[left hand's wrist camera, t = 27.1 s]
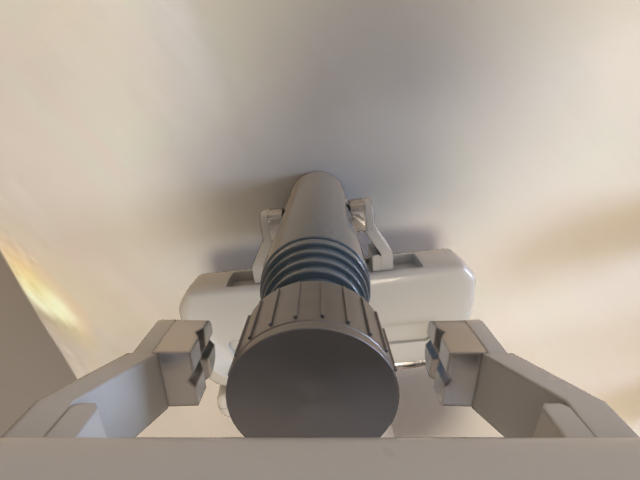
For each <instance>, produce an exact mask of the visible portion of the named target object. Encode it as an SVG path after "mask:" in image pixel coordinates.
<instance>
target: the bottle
mask: <svg viewBox="0 0 640 480" xmlns="http://www.w3.org/2000/svg"><path fill="white" fill-rule="evenodd" d="M300 281H301V282H303V281H325V282H330V283H335V284H338V285H341V286H345V287H346V288H348V289H350V290H352V291H354V292H355V293H357V294H358V295H360V296H361V297H362V296H363V297H364V299H365V300H366V301H367V302H368V303H369V301H370V295H371V285H370V275H369V272H368V269H367V265H366V262H365V259H364V256H363V252H362V249H361V246H360V243H359V239H358V236H357V233H356V230H355V226H354V223H353V220H352V216H351V213H350V210H349V207H348V203H347V200H346V197H345V194H344V190H343V188H342V185H341V184H340V182H339V181H338V180H337V179H336V178H335V177H333V176H332V175H330V174H328V173H325V172H319V171H317V172H310V173H307V174H305V175H303V176H302V177H301V178H299V179H298V180H297V182H296V183H295V185H294V186H293V189H292V191H291V194H290V197H289V200H288V202H287V205H286V208H285V210H284V213H283V216H282V219H281V221H280V224H279V227H278V230H277V232H276V235H275V238H274V240H273V243H272V246H271V249H270V251H269V254H268V257H267V260H266V262H265V265H264V268H263V271H262V274H261V280H260V299H261V300H263V299H264V298H265V297H266V296H268V295H269V294H270V293H272V292H273V291H275V290H276V289H278V288H281V287H284V286H286V285H289V284H293V283H297V282H300Z"/></svg>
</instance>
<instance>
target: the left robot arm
mask: <svg viewBox="0 0 640 480" xmlns="http://www.w3.org/2000/svg"><path fill="white" fill-rule="evenodd" d="M212 333H213V330H212V324H211V322H210V321H209V320H160V321H158V322H157V323H156V324H155V325H154V326H153V328H152V329H151V330H150V332H149V333H148V334H147V335H146V337H145V338H144V339H143V341H142V342H141V343H140V344H139V346H138V347H137V348H136V349H135V351H134V352H133V353H127V354H125V355H123V356H121V357H119V358H118V359H116V360H114V361H112V362H110V363H108V364H106V365H104V366H102V367H100V368H99V369H97V370H95V371H93V372H91V373H89V374H87V375H85V376H83V377H82V378H80V379H78V380H76V381H74V382H72V383H70V384H68V385H66V386H65V387H63V388H61V389H59V390H57V391H55V392H53V393H51V394H49V395H47V396H46V397H44V398H42V399H40V400H38V401H36V402H35V403H34V404H33V405H32V406H31V407H30V408H29V409H28V410H27V411H26V412H25V413H24V414H23V415H22V416H21V417H20V418H19V419H18V420H17V421H16V422H15V423H14V424H13V425H12V426H11V427H10V428H9V429H8V430H7V431H6V432H5V433H4V434H3V436H1V437H0V480H640V437H639V436H638V435H637V434H636V433H635V432H634V431H633V430H632V429H631V428H630V427H629V426H628V425H627V424H626V423H625V422H624V421H623V420H622V419H621V418H620V417H619V416H618V415H617V414H616V413H615V412H614V411H613V410H612V409H611V408H610V407H609V406H608V405H607V404H606V403H605V402H604V401H602V400H600V399H598V398H596V397H594V396H592V395H590V394H589V393H587V392H585V391H583V390H581V389H579V388H577V387H575V386H573V385H572V384H570V383H568V382H566V381H564V380H562V379H560V378H558V377H556V376H555V375H553V374H551V373H549V372H547V371H545V370H543V369H541V368H539V367H538V366H536V365H534V364H532V363H530V362H528V361H526V360H524V359H522V358H521V357H519V356H517V355H515V354H513V353H507V352H506V351H505V350H504V348H503V347H502V346H501V344H500V343H499V342H498V341H497V339H496V338H495V337H494V336H493V334H492V333H491V332H490V330H489V329H488V328H487V327H486V325H485V324H484V323H483V322H482V321H481V320H455V321H430V322H429V324H428V330H427V333H428V335H429V337H430V340H429V341H428V342H427V343H426V344H425V364H426V368H427V371H428V374H429V376H430V377H431V378H433V379H434V380H435V384H434V388H435V391H436V393H437V396H438V398H439V400H440V403H441V405H442V406H472V408H473V409H474V410H475V411H476V412H477V413H478V414H479V415H481V416H482V417H483V418H484V419H485V420H486V421H487V422H488V423H489V424H491V425H492V426H493V427H494V428H495V429H496V430H497V431H498V432H500V433H501V434H502V435H503V436H504V437H505V438H430V437H347V438H135V437H136V436H137V435H138V434H139V433H141V432H142V431H143V430H144V429H145V428H146V427H147V426H148V425H150V424H151V423H152V422H153V421H154V420H155V419H156V418H157V417H159V416H160V415H161V414H162V413H163V412H164V411H165V410H166V409H167V408H168V406H197V405H199V403H200V400H201V398H202V396H203V393H204V391H205V388H206V384H205V380H206V379H207V378H209V377H210V376H211V374H212V371H213V369H214V363H215V344H214V343H213V342H212V341H211V340H210V337H211V335H212Z"/></svg>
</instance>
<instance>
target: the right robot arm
mask: <svg viewBox="0 0 640 480" xmlns="http://www.w3.org/2000/svg"><path fill="white" fill-rule="evenodd" d="M348 207H349V210H350V213H351V216H352V220H353V223H354V226H355V230H356V232H357V231H365V233H366V234H367V236H368V237H369V238H370V240H371V241H372V243H373V244H369V245H368V255H369V257H364V259H365V262H366V265H367V269H368V272H369V275H370V285H371V295H370V301H369V304H370V306H371V307H372V308H373V309H374V311H377V313H378V316H379V320H380V323H381V326H382V328H384V329H385V332H386V336H387V339H388V342H389V346H390V349H391V352H392V356H393V359H394V362H395V366H396V369H408V368H415V367H419V366H426V364H425V344H426V343H427V342H428V341H429V340H430V337H429V335H428V333H427V330H428V324H429V322H430V321H455V320H469V319H470V315H471V310H472V305H473V298H474V291H475V276H474V273H473V271H472V270H471V269H470V267H469V266H468V265H467V264H466V263H465V261H464V260H463V259H461V258H460V257H459V256H458V255H457V254H456V253H454V252H453V251H452V250H450V249H435V250H426V251H416V252H407V253H397V254H393V253H392V251H391V249H390V247H389V245H388V243H387V241H386V240H385V238H384V237H383V236H382V234H381V233H380V231H379V230H378V229H377V227H376V226H375V224H374V215H373V205H372V201H371V199H370V198H364V199H355V200H348ZM283 213H284V208H276V209H265V210H262V211H261V213H260V225H261V230H262V236H263V241H262V243H261V245H260V248H259V251H258V253H257V256H256V258H255V261H254V263H253V266H252V269H245V270H235V271H226V272H216V273H206V274H202V275H200V276H198V277H197V278H196V279H195V281H194V282H193V283H192V284H191V286H190V287H189V288H188V290H187V291H186V293H185V294H184V296H183V298H182V300H181V303H180V307H179V310H180V316H181V320H209V321H210V322H211V324H212V330H213V333H212V335H211V337H210V340H211V341H212V342H213V343H214V344H215V363H214V369H213V371H212V374H211V376H210V377H209V379H211V380H212V381H213V382H215V383H217V384H220V388H219V393H218V399H217V402H218V407H219V409H220V411H221V413H222V414H224V415H225V416H228V417H230V415H229V412H228V408H227V404H226V397H225V396H226V384H227V379H228V372H229V369H230V366H231V363H232V361H233V358H234V353H235V351H236V348H237V345H238V342H239V339H240V337H241V334H242V331H243V328H244V325H245V322H246V320H247V317H248V315H251V313H252V312H253V310H254V309H255V307H256V306H257V305H258V304H259V301H260V300H261V299H260V280H261V274H262V271H263V268H264V265H265V262H266V260H267V257H268V253H269V251H270V248H271V246H272V243H273V240H274V238H275V235H276V232H277V230H278V227H279V224H280V221H281V219H282V216H283ZM381 437H395V436H394V432H393V429H392V426H391V425H390V426H389V428H388V429H387V430H386V432H385V433H384V434H383V435H382V436H381Z"/></svg>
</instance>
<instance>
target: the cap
mask: <svg viewBox="0 0 640 480" xmlns="http://www.w3.org/2000/svg"><path fill="white" fill-rule="evenodd" d="M395 371H397V369H396V366H395V362H394V359H393V356H392V352H391V349H390V346H389V342H388V339H387V336H386V332H385V329H384V328H382V326H381V323H380V320H379V316H378V313H377V311H374V309H373V308H372V307H371V306H370V304H369V303H368V302H367V301H366V300H365V299H364V297H363V296H362V297H361V296H360V295H358V294H357V293H355V292H354V291H352V290H350V289H348V288H346V287H345V286H341V285H338V284H335V283H330V282H325V281H303V282H301V281H300V282H297V283H293V284H289V285H286V286H284V287H281V288H278V289H276V290H275V291H273V292H272V293H270V294H269V295H268V296H266V297H265V298H264V299H263V300H260V301H259V304H258V305H257V306H256V307H255V309H254V310H253V312H252V313H251V315H248V317H247V320H246V322H245V325H244V328H243V331H242V334H241V337H240V339H239V342H238V345H237V348H236V351H235V353H234V358H233V361H232V363H231V366H230V369H229V372H228V379H227V384H226V396H225V397H226V404H227V408H228V412H229V415H230V417H231V419H232V421H233V423H234V424H235V426H236V427H237V429H238V430H239V431H240V432H241V433H242V435H243V436H244V437H245V438H347V437H381V436H382V435H383V434H384V433H385V432H386V430H387V429H388V428H389V426H390V425H391V423H392V421H393V419H394V417H395V415H396V412H397V408H398V404H399V386H398V382H397V378H396V374H395Z"/></svg>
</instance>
